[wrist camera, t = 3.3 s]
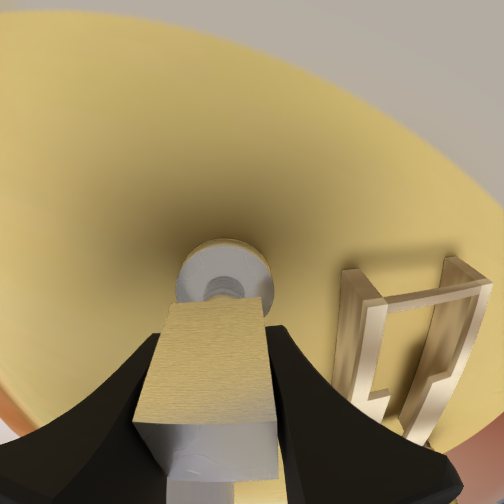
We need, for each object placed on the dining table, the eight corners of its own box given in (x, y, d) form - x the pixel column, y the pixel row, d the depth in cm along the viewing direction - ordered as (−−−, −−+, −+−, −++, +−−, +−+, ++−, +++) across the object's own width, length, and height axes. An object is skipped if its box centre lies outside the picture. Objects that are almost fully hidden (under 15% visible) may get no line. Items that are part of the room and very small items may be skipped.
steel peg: (273, 316, 15) (303, 484, 7) (188, 322, 15) (154, 486, 7) (268, 234, 14) (314, 393, 5) (173, 242, 14) (91, 397, 5)
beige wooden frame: (407, 415, 21) (422, 446, 18) (323, 435, 21) (332, 471, 18) (456, 256, 16) (493, 282, 12) (341, 270, 16) (367, 307, 12)
